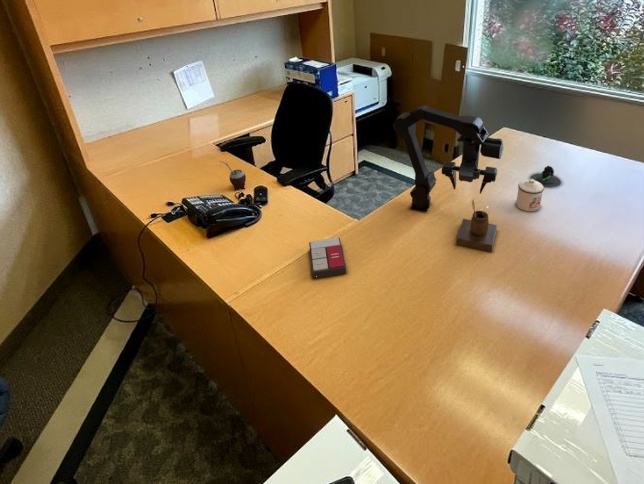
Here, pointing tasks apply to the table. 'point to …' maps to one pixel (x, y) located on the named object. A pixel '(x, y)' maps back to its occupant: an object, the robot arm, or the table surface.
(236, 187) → the mate gourd
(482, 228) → the utensil holder
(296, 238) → the table surface
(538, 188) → the teacup with lid
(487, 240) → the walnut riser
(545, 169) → the dark grey hat
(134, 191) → the table surface
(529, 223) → the table surface
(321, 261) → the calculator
